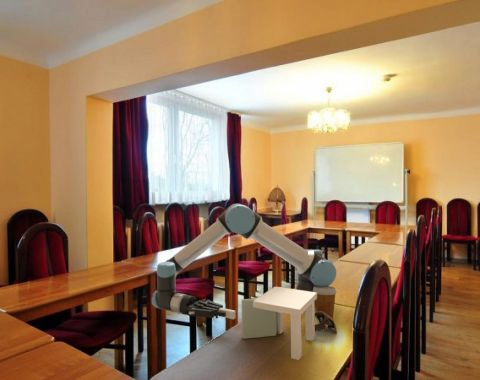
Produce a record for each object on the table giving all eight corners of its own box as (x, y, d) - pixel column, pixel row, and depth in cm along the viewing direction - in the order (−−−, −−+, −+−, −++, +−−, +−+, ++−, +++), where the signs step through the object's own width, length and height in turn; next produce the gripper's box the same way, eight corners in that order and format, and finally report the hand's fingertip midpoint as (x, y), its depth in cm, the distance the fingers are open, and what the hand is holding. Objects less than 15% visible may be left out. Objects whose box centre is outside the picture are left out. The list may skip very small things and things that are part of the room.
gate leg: (277, 332, 118) (276, 296, 118) (278, 335, 116) (278, 298, 116) (242, 336, 116) (241, 299, 116) (243, 338, 114) (242, 301, 114)
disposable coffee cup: (320, 313, 139) (320, 284, 140) (341, 318, 132) (340, 287, 133) (308, 317, 132) (308, 287, 133) (329, 322, 125) (329, 290, 127)
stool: (275, 328, 122) (275, 286, 122) (317, 337, 114) (316, 292, 114) (253, 349, 107) (253, 301, 107) (300, 362, 99) (299, 309, 99)
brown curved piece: (341, 338, 115) (331, 320, 113) (317, 348, 116) (307, 331, 115) (333, 317, 126) (324, 300, 124) (311, 326, 128) (302, 310, 126)
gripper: (194, 308, 137) (243, 318, 125) (173, 319, 126) (225, 332, 114) (194, 290, 137) (243, 299, 125) (173, 300, 126) (224, 310, 114)
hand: (234, 315), depth 120 cm, fingers closed
